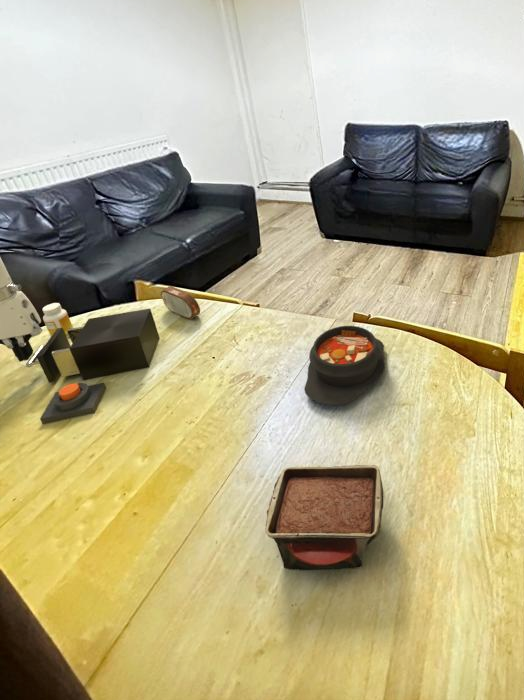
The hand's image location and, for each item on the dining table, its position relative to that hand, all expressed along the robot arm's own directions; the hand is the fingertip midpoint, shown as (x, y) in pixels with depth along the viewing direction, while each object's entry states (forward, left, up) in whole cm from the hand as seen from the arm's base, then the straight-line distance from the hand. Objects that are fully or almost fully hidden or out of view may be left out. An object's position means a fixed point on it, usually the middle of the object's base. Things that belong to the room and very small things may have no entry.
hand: (26, 357), depth 101 cm
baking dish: (+65, -59, -6) cm, 88 cm away
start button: (+14, -15, -2) cm, 21 cm away
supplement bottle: (0, +17, -6) cm, 18 cm away
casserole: (+75, -24, -6) cm, 79 cm away
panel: (+14, -15, -6) cm, 21 cm away
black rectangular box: (+20, 0, -6) cm, 21 cm away
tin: (+32, +17, -6) cm, 37 cm away
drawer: (+10, 0, -5) cm, 11 cm away
